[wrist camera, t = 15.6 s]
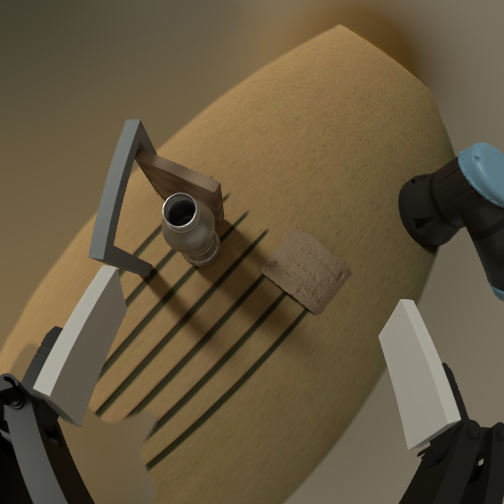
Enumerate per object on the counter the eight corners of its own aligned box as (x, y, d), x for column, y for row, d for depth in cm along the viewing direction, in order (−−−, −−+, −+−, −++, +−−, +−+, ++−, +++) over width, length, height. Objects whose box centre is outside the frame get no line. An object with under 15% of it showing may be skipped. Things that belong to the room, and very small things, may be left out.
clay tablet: (353, 274, 48) (359, 273, 45) (320, 321, 46) (325, 322, 44) (290, 223, 49) (293, 219, 46) (253, 268, 47) (254, 266, 45)
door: (155, 193, 47) (129, 155, 34) (162, 180, 48) (140, 139, 34) (220, 224, 47) (214, 192, 33) (227, 210, 47) (225, 174, 34)
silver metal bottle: (219, 226, 47) (209, 174, 28) (223, 266, 46) (215, 239, 27) (181, 231, 47) (148, 183, 27) (185, 270, 46) (149, 247, 26)
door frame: (168, 177, 49) (140, 119, 31) (149, 276, 45) (103, 259, 28) (158, 176, 49) (126, 119, 31) (138, 274, 45) (88, 257, 28)
